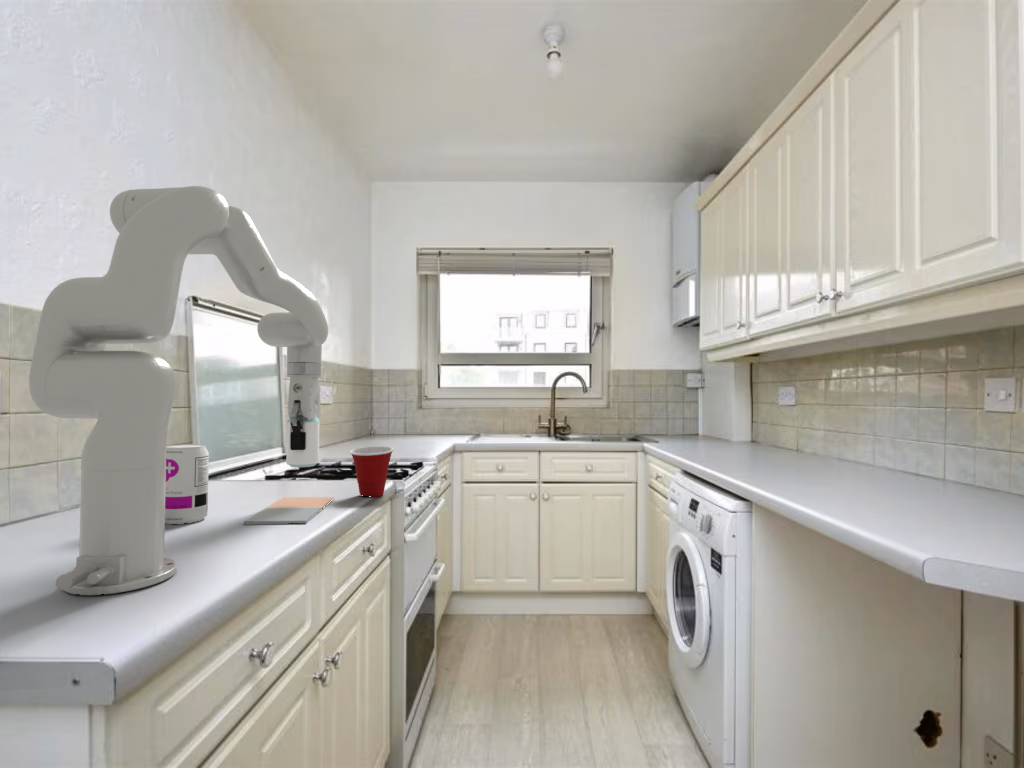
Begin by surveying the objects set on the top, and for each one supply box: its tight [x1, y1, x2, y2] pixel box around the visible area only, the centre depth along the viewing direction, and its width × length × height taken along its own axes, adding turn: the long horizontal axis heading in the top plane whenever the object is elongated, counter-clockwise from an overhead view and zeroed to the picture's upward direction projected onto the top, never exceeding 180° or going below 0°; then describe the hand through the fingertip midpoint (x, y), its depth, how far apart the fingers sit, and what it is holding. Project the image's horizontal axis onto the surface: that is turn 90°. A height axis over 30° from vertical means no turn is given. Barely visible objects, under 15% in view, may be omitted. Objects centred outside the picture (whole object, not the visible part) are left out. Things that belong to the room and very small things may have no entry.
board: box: [242, 496, 335, 525], centre depth 117 cm, size 24×12×1 cm, turn 6°
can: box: [285, 414, 321, 468], centre depth 124 cm, size 7×7×12 cm
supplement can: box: [165, 443, 210, 525], centre depth 108 cm, size 8×8×15 cm
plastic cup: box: [349, 445, 394, 498], centre depth 136 cm, size 11×11×12 cm
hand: (302, 447), depth 124 cm, fingers closed on can, 6 cm apart
